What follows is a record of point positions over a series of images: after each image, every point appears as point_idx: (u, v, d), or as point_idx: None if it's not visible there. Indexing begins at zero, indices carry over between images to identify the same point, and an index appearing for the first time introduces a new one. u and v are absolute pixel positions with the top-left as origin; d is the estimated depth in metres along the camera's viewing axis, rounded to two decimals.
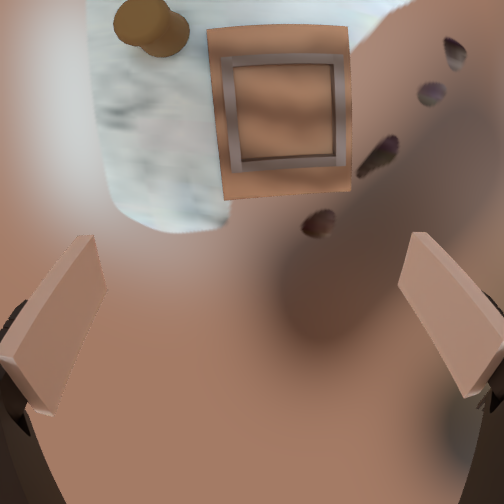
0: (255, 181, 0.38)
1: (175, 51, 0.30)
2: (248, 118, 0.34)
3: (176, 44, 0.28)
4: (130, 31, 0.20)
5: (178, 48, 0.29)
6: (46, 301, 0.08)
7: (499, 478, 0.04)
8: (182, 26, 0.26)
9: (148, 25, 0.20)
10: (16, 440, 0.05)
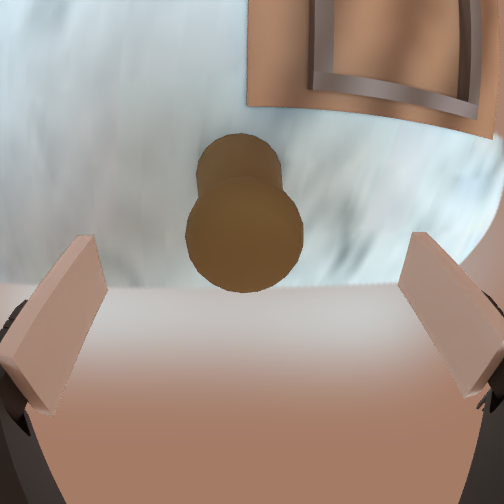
0: (482, 91, 0.18)
1: (277, 160, 0.21)
2: (408, 70, 0.17)
3: (273, 159, 0.19)
4: (276, 267, 0.13)
5: (274, 155, 0.21)
6: (46, 301, 0.08)
7: (499, 478, 0.04)
8: (241, 147, 0.18)
9: (274, 232, 0.12)
10: (16, 440, 0.05)
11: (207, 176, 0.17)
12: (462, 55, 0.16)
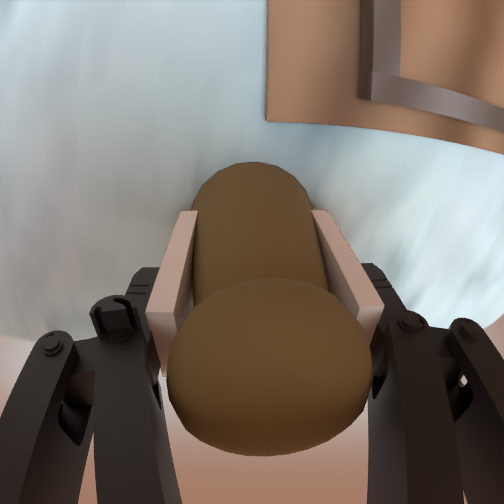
0: None
1: (309, 202, 0.15)
2: (484, 80, 0.11)
3: (306, 206, 0.13)
4: (324, 437, 0.07)
5: (305, 196, 0.14)
6: (184, 263, 0.10)
7: (396, 482, 0.04)
8: (259, 189, 0.12)
9: (332, 404, 0.06)
10: (155, 415, 0.06)
11: (204, 246, 0.10)
12: None
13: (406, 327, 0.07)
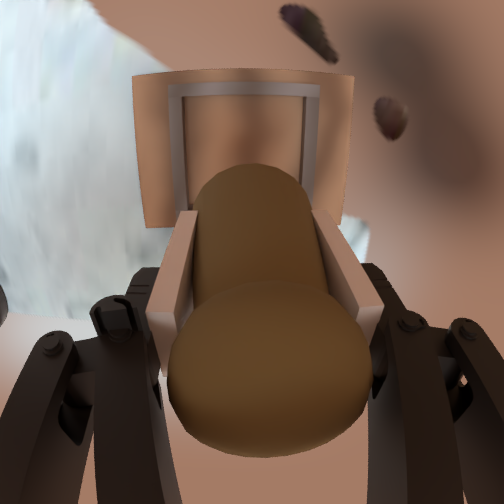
0: (325, 190, 0.32)
1: (309, 204, 0.15)
2: None
3: (306, 208, 0.13)
4: (324, 439, 0.07)
5: (305, 197, 0.14)
6: (184, 263, 0.10)
7: (396, 481, 0.04)
8: (259, 191, 0.12)
9: (331, 407, 0.06)
10: (155, 415, 0.06)
11: (204, 247, 0.10)
12: (300, 168, 0.30)
13: (406, 327, 0.07)
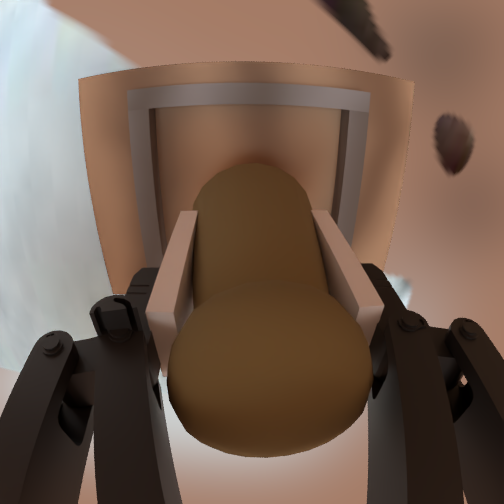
0: (364, 246, 0.22)
1: (309, 203, 0.15)
2: None
3: (306, 207, 0.13)
4: (324, 438, 0.07)
5: (305, 197, 0.14)
6: (184, 263, 0.10)
7: (396, 481, 0.04)
8: (259, 191, 0.12)
9: (331, 406, 0.06)
10: (155, 415, 0.06)
11: (204, 247, 0.10)
12: (332, 218, 0.20)
13: (406, 327, 0.07)
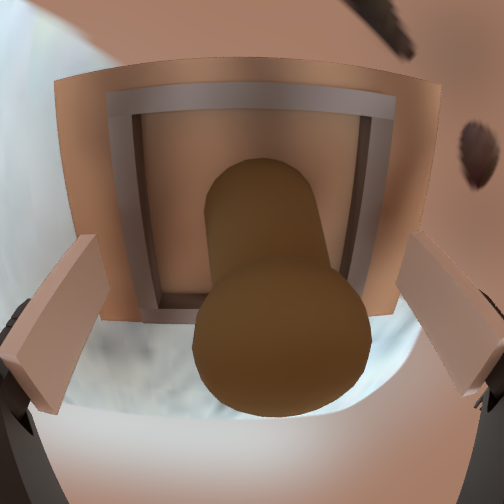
0: (381, 269, 0.19)
1: (313, 194, 0.16)
2: None
3: (309, 197, 0.14)
4: (331, 395, 0.08)
5: (309, 188, 0.15)
6: (49, 300, 0.08)
7: (497, 479, 0.04)
8: (267, 183, 0.13)
9: (336, 360, 0.07)
10: (19, 439, 0.05)
11: (221, 232, 0.12)
12: (347, 241, 0.18)
13: None
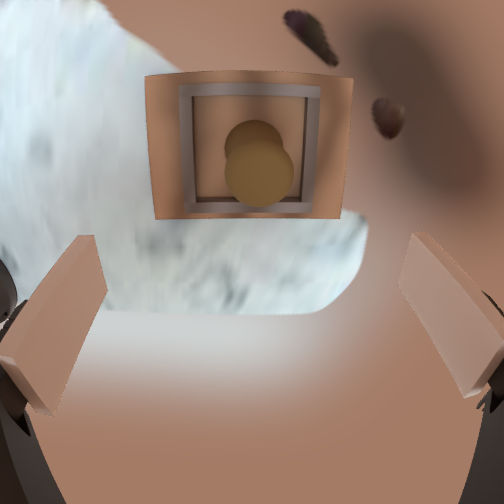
0: (326, 185, 0.34)
1: (280, 137, 0.30)
2: None
3: (276, 135, 0.29)
4: (278, 187, 0.22)
5: (278, 133, 0.30)
6: (46, 301, 0.08)
7: (499, 479, 0.04)
8: (256, 127, 0.28)
9: (276, 166, 0.22)
10: (16, 440, 0.05)
11: (234, 143, 0.26)
12: (302, 165, 0.32)
13: None
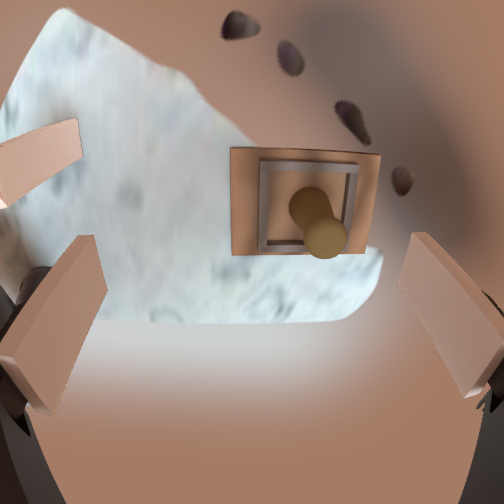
0: (356, 231, 0.47)
1: None
2: None
3: (328, 201, 0.42)
4: (338, 248, 0.35)
5: (327, 198, 0.43)
6: (46, 301, 0.08)
7: (499, 479, 0.04)
8: (315, 196, 0.41)
9: (338, 236, 0.35)
10: (16, 440, 0.05)
11: (304, 211, 0.39)
12: (341, 218, 0.45)
13: None
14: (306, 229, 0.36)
